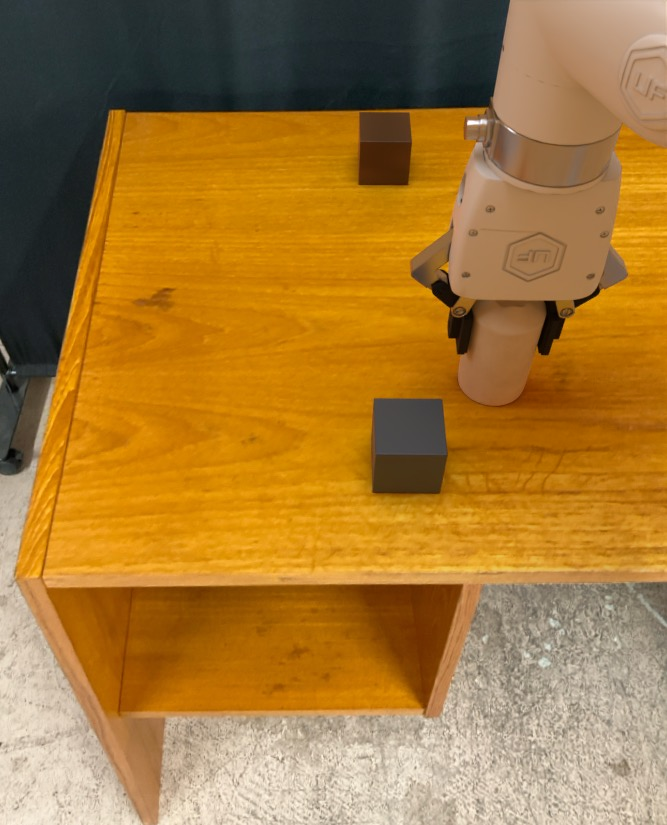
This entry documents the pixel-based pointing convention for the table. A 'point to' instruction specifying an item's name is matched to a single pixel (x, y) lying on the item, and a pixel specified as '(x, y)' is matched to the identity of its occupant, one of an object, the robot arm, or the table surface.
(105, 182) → the table surface
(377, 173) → the far block
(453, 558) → the table surface
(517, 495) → the table surface
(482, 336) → the candle
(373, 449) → the near block
